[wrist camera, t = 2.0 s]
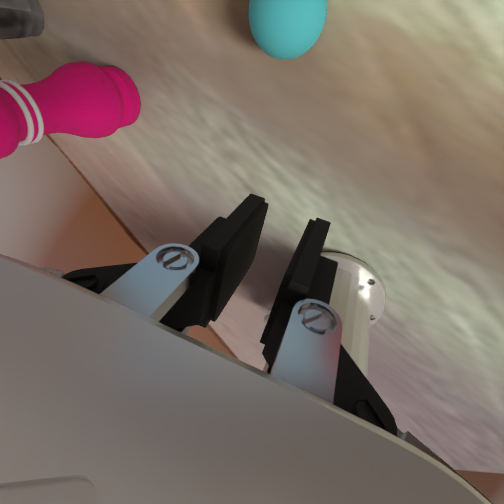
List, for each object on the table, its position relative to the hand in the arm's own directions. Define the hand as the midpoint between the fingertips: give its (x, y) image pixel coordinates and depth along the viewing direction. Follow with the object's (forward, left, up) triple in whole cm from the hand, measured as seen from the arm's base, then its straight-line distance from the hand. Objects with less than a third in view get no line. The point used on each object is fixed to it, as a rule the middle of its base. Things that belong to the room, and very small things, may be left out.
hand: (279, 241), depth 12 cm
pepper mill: (-18, +19, -22) cm, 34 cm away
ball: (+2, +10, -19) cm, 22 cm away
